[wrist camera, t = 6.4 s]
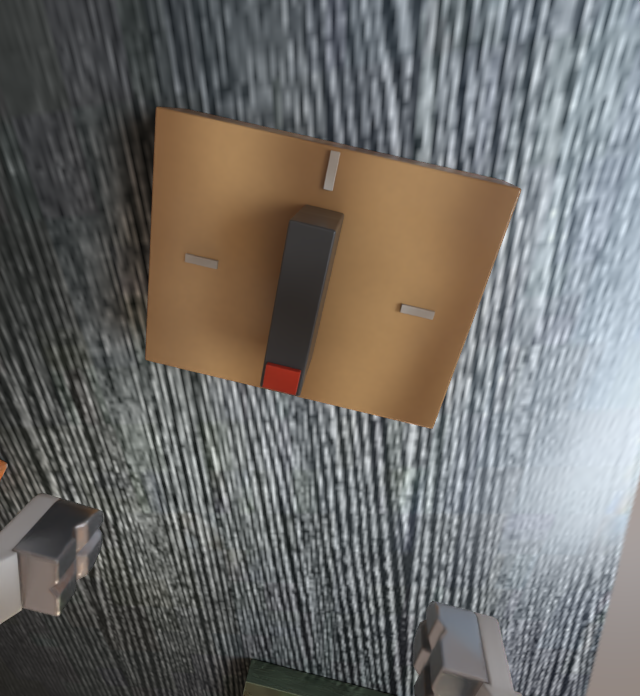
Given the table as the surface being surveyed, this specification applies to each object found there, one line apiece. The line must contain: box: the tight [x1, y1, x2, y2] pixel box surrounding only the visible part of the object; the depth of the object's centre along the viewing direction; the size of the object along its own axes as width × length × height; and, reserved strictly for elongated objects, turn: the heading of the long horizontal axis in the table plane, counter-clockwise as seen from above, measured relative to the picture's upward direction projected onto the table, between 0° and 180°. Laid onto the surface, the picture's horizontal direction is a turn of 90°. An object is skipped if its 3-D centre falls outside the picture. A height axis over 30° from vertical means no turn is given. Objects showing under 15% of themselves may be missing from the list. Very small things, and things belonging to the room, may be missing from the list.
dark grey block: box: [260, 205, 344, 396], centre depth 18 cm, size 6×2×4 cm, turn 168°
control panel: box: [145, 107, 521, 429], centre depth 21 cm, size 14×11×3 cm
